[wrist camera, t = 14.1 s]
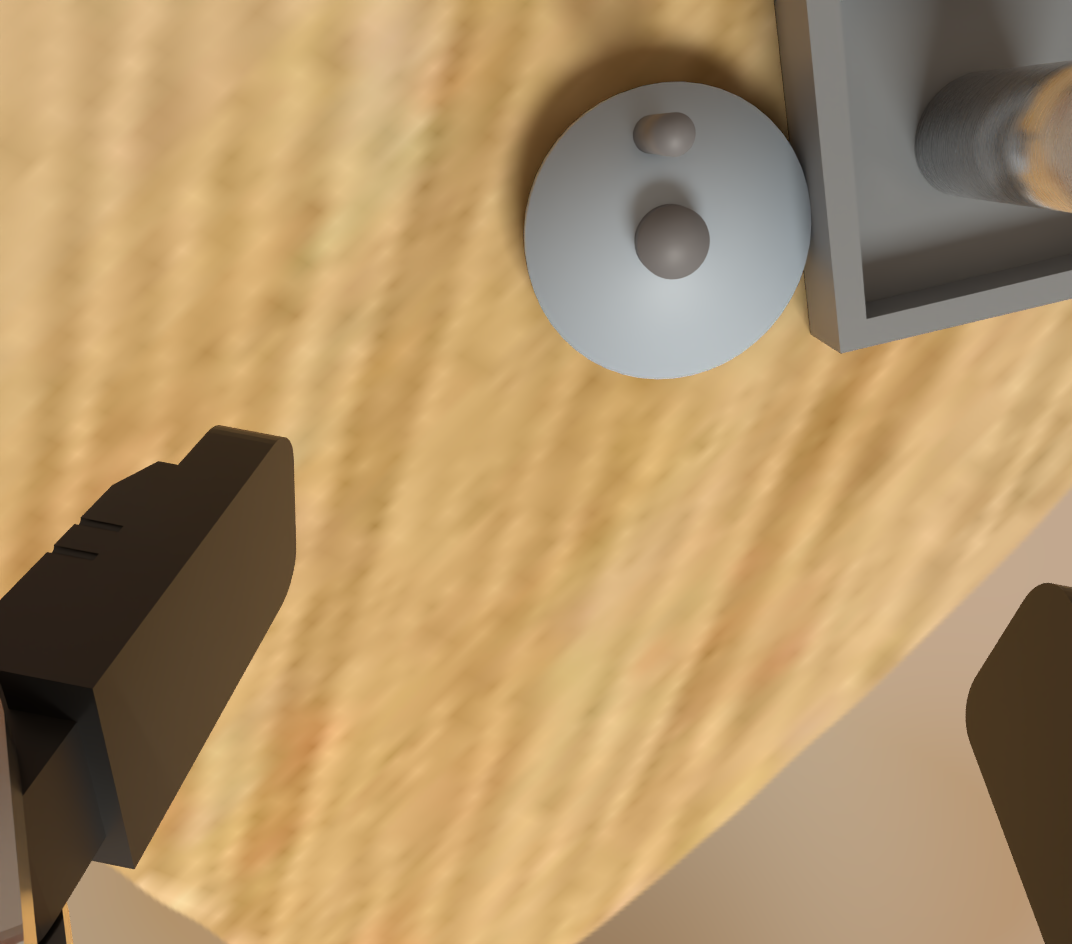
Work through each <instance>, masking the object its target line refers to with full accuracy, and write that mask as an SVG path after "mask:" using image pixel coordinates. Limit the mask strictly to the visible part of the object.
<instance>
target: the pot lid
mask: <svg viewBox="0 0 1072 944" xmlns="http://www.w3.org/2000/svg"><path fill="white" fill-rule="evenodd" d="M810 235H811V204H810V198H809V192H808V186H807V183H806V180H805V177H804V173H803V170H802V167H801V165H800V163H799V161H798V158H797V156H796V154H795V152H794V150H793V148H792V147H791V145H790V144H789V142H788V141H787V139H786V138H785V136H784V135H783V133H782V132H781V131H780V130H779V129H778V128H777V126H776V125H775V124H774V123H773V122H772V121H771V120H770V119H769V118H768V117H767V116H766V115H765V114H763V113H762V112H761V111H760V110H759V109H758V108H756V107H755V106H753V105H752V104H750V103H749V102H747V101H745V100H744V99H742V98H741V97H739V96H737V95H734V94H732V93H730V92H727V91H725V90H723V89H720V88H716V87H712V86H709V85H705V84H699V83H690V82H662V83H656V84H651V85H645V86H641V87H638V88H634V89H631V90H628V91H625V92H622V93H619V94H617V95H615V96H612V97H610V98H608V99H606V100H604V101H602V102H600V103H599V104H597V105H596V106H594V107H593V108H591V109H590V110H588V111H587V112H585V113H584V114H582V115H581V116H580V117H579V118H578V119H577V120H576V121H575V122H573V123H572V124H571V125H570V126H569V127H568V128H567V129H566V130H565V131H564V133H563V134H562V135H561V136H560V137H559V138H558V139H557V141H556V142H555V143H554V145H553V146H552V148H551V149H550V151H549V152H548V154H547V155H546V157H545V158H544V160H543V162H542V164H541V166H540V168H539V170H538V172H537V174H536V176H535V179H534V182H533V185H532V188H531V190H530V193H529V198H528V202H527V207H526V211H525V221H524V251H525V257H526V263H527V268H528V273H529V276H530V279H531V283H532V286H533V289H534V292H535V295H536V297H537V299H538V301H539V303H540V306H541V308H542V310H543V311H544V313H545V315H546V316H547V318H548V319H549V321H550V323H551V324H552V325H553V327H554V328H555V329H556V330H557V332H558V333H559V334H560V335H561V336H562V338H563V339H564V340H566V341H567V342H568V343H569V344H570V345H571V346H572V347H573V348H574V349H575V350H576V351H578V352H579V353H581V354H582V355H584V356H585V357H586V358H588V359H589V360H591V361H593V362H595V363H597V364H599V365H601V366H602V367H604V368H607V369H609V370H612V371H615V372H618V373H621V374H624V375H629V376H633V377H638V378H648V379H671V378H679V377H685V376H691V375H694V374H698V373H701V372H704V371H707V370H710V369H712V368H715V367H717V366H719V365H721V364H724V363H726V362H727V361H729V360H731V359H732V358H734V357H736V356H737V355H739V354H741V353H742V352H743V351H745V350H746V349H747V348H749V347H750V346H751V345H753V344H754V343H755V342H756V341H757V340H758V339H759V338H760V337H761V336H762V335H764V334H765V333H766V332H767V331H768V330H769V329H770V327H771V326H772V325H773V324H774V322H775V321H776V320H777V319H778V317H779V316H780V315H781V314H782V312H783V310H784V309H785V307H786V306H787V304H788V303H789V301H790V299H791V298H792V296H793V294H794V291H795V289H796V287H797V285H798V283H799V281H800V278H801V275H802V272H803V269H804V266H805V263H806V259H807V254H808V250H809V245H810Z"/></svg>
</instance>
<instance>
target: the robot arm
mask: <svg viewBox="0 0 1072 944" xmlns="http://www.w3.org/2000/svg"><path fill="white" fill-rule="evenodd" d="M295 558H296V524H295V489H294V457H293V449H292V445H291V443H290V441H289V440H288V439H287V438H285V437H279V436H274V435H269V434H263V433H258V432H253V431H247V430H242V429H237V428H232V427H226V426H221V425H218V426H214V427H213V428H211V429H210V430H209V431H208V432H207V433H206V434H205V435H204V437H203V438H202V439H201V440H200V441H199V442H198V443H197V444H196V445H195V447H194V448H193V449H192V450H191V451H190V452H189V453H188V454H187V456H186V457H185V458H184V459H183V460H182V461H181V462H180V463H179V465H175V464H170V463H165V462H159V461H158V462H156V463H154V464H152V465H150V466H148V467H146V468H144V469H143V470H141V471H139V472H137V473H135V474H133V475H131V476H129V477H127V478H125V479H123V480H121V481H119V482H118V483H116V484H114V485H112V486H111V487H110V488H109V489H108V490H107V491H106V492H105V493H104V494H103V495H102V496H101V497H100V498H99V499H98V500H97V501H96V502H95V504H94V505H93V506H92V507H91V508H90V509H89V510H88V511H87V512H86V513H85V514H84V515H83V516H82V517H81V521H80V524H79V525H76V524H74V525H73V526H72V527H71V528H70V529H69V530H68V531H67V532H66V533H65V534H64V535H63V536H62V537H61V538H60V539H59V540H58V541H57V542H56V543H55V544H54V550H53V552H52V553H49V552H47V553H46V554H45V555H44V556H43V557H42V558H41V559H40V560H39V561H38V562H37V563H36V564H35V565H34V566H33V567H32V568H31V569H30V570H29V571H28V572H27V573H26V574H25V575H24V576H23V577H22V578H21V579H20V580H19V581H18V582H17V583H16V584H15V585H14V587H13V588H12V589H11V590H10V591H9V592H8V593H7V594H6V595H5V596H4V597H3V598H2V599H1V600H0V944H73V939H72V932H71V924H70V916H69V910H68V906H67V900H68V899H69V897H70V895H71V894H72V892H73V891H74V889H75V887H76V886H77V884H78V882H79V881H80V879H81V877H82V876H83V874H84V873H85V871H86V869H87V867H88V866H89V864H90V862H91V861H96V862H101V863H106V864H111V865H116V866H121V867H126V868H131V869H135V867H136V866H137V864H138V862H139V860H140V859H141V857H142V855H143V853H144V851H145V850H146V848H147V846H148V844H149V842H150V841H151V839H152V837H153V835H154V833H155V832H156V830H157V828H158V826H159V824H160V823H161V821H162V819H163V817H164V815H165V814H166V812H167V810H168V808H169V807H170V805H171V803H172V801H173V799H174V798H175V796H176V794H177V792H178V790H179V789H180V787H181V785H182V783H183V781H184V780H185V778H186V776H187V774H188V772H189V771H190V769H191V767H192V765H193V763H194V762H195V760H196V758H197V756H198V755H199V753H200V751H201V749H202V747H203V746H204V744H205V742H206V740H207V738H208V737H209V735H210V733H211V731H212V729H213V728H214V726H215V724H216V722H217V720H218V719H219V717H220V715H221V713H222V711H223V710H224V708H225V706H226V704H227V702H228V701H229V699H230V697H231V695H232V694H233V692H234V690H235V688H236V686H237V685H238V683H239V681H240V679H241V677H242V676H243V674H244V672H245V670H246V668H247V667H248V665H249V663H250V661H251V659H252V658H253V656H254V654H255V652H256V650H257V649H258V647H259V645H260V643H261V642H262V640H263V638H264V636H265V634H266V633H267V631H268V629H269V627H270V625H271V624H272V622H273V620H274V618H275V616H276V615H277V613H278V611H279V609H280V607H281V606H282V604H283V602H284V599H285V597H286V595H287V592H288V589H289V586H290V583H291V579H292V575H293V571H294V565H295ZM966 727H967V734H968V737H969V741H970V744H971V746H972V749H973V752H974V754H975V757H976V760H977V762H978V765H979V768H980V770H981V773H982V776H983V778H984V781H985V783H986V786H987V789H988V792H989V794H990V797H991V800H992V802H993V805H994V808H995V811H996V813H997V816H998V819H999V821H1000V824H1001V827H1002V829H1003V832H1004V835H1005V838H1006V840H1007V843H1008V846H1009V848H1010V851H1011V854H1012V856H1013V859H1014V862H1015V864H1016V867H1017V870H1018V872H1019V875H1020V878H1021V880H1022V883H1023V886H1024V888H1025V891H1026V894H1027V897H1028V899H1029V902H1030V905H1031V907H1032V910H1033V912H1034V915H1035V918H1036V921H1037V923H1038V926H1039V928H1040V931H1041V934H1042V937H1043V939H1044V942H1045V944H1072V587H1067V586H1062V585H1057V584H1052V583H1043V584H1041V585H1038V586H1037V587H1035V588H1034V589H1033V590H1032V591H1031V592H1030V593H1029V594H1028V595H1027V596H1026V598H1025V599H1024V601H1023V602H1022V604H1021V605H1020V607H1019V609H1018V610H1017V612H1016V614H1015V615H1014V617H1013V618H1012V620H1011V621H1010V623H1009V625H1008V626H1007V628H1006V629H1005V631H1004V633H1003V634H1002V636H1001V637H1000V639H999V641H998V643H997V644H996V645H995V647H994V649H993V650H992V652H991V653H990V655H989V657H988V658H987V660H986V661H985V663H984V665H983V666H982V668H981V669H980V671H979V672H978V674H977V676H976V677H975V679H974V681H973V683H972V685H971V688H970V691H969V694H968V699H967V704H966Z"/></svg>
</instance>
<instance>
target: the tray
mask: <svg viewBox="0 0 1072 944" xmlns="http://www.w3.org/2000/svg"><path fill="white" fill-rule="evenodd" d="M774 5H775V14H776V23H777V32H778V41H779V50H780V59H781V68H782V77H783V86H784V95H785V105H786V114H787V123H788V132H789V141H790V145H791V147H792V148H793V150H794V152H795V154H796V156H797V158H798V161H799V163H800V165H801V167H802V170H803V173H804V177H805V180H806V183H807V186H808V192H809V198H810V204H811V235H810V245H809V250H808V254H807V259H806V263H805V266H804V277H805V286H806V295H807V304H808V313H809V322H810V332H811V335H813V336H814V337H816V338H817V339H819V340H820V341H822V342H823V343H825V344H827V345H828V346H830V347H831V348H833V349H834V350H836V351H838V352H839V353H845V352H849V351H853V350H857V349H862V348H866V347H870V346H874V345H878V344H883V343H887V342H891V341H895V340H900V339H904V338H908V337H912V336H916V335H921V334H925V333H929V332H933V331H937V330H942V329H946V328H950V327H954V326H958V325H963V324H967V323H971V322H975V321H979V320H984V319H988V318H992V317H996V316H1000V315H1005V314H1009V313H1013V312H1017V311H1022V310H1026V309H1030V308H1034V307H1038V306H1043V305H1047V304H1051V303H1055V302H1059V301H1064V300H1068V299H1072V213H1070V212H1063V211H1055V210H1048V209H1041V208H1034V207H1027V206H1020V205H1013V204H1006V203H998V202H991V201H984V200H977V199H970V198H963V197H956V196H950V195H946V194H944V193H942V192H939V191H938V190H936V189H935V188H933V187H932V186H931V185H930V184H929V183H928V182H927V181H926V180H925V179H924V177H923V175H922V174H921V172H920V170H919V167H918V165H917V161H916V157H915V136H916V131H917V127H918V124H919V121H920V118H921V116H922V114H923V112H924V110H925V108H926V107H927V105H928V104H929V102H930V101H931V100H932V98H933V97H934V96H935V95H936V94H937V93H938V92H939V91H940V90H941V89H942V88H943V87H944V86H946V85H947V84H948V83H950V82H951V81H953V80H954V79H956V78H958V77H961V76H963V75H966V74H969V73H973V72H979V71H988V70H996V69H1004V68H1012V67H1020V66H1029V65H1037V64H1045V63H1053V62H1062V61H1070V60H1072V0H774Z"/></svg>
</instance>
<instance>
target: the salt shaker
mask: <svg viewBox="0 0 1072 944" xmlns="http://www.w3.org/2000/svg"><path fill="white" fill-rule="evenodd" d="M915 157H916V161H917V165H918V167H919V170H920V172H921V174H922V175H923V177H924V179H925V180H926V181H927V182H928V183H929V184H930V185H931V186H932V187H933V188H935V189H936V190H938V191H939V192H942V193H944V194H946V195H950V196H956V197H963V198H970V199H977V200H984V201H991V202H998V203H1006V204H1013V205H1020V206H1027V207H1034V208H1041V209H1048V210H1055V211H1063V212H1070V213H1072V60H1070V61H1062V62H1053V63H1045V64H1037V65H1029V66H1020V67H1012V68H1004V69H996V70H988V71H979V72H973V73H969V74H966V75H963V76H961V77H958V78H956V79H954V80H953V81H951V82H950V83H948V84H947V85H946V86H944V87H943V88H942V89H941V90H940V91H939V92H938V93H937V94H936V95H935V96H934V97H933V98H932V100H931V101H930V102H929V104H928V105H927V107H926V108H925V110H924V112H923V114H922V116H921V118H920V121H919V124H918V127H917V131H916V136H915Z"/></svg>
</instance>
